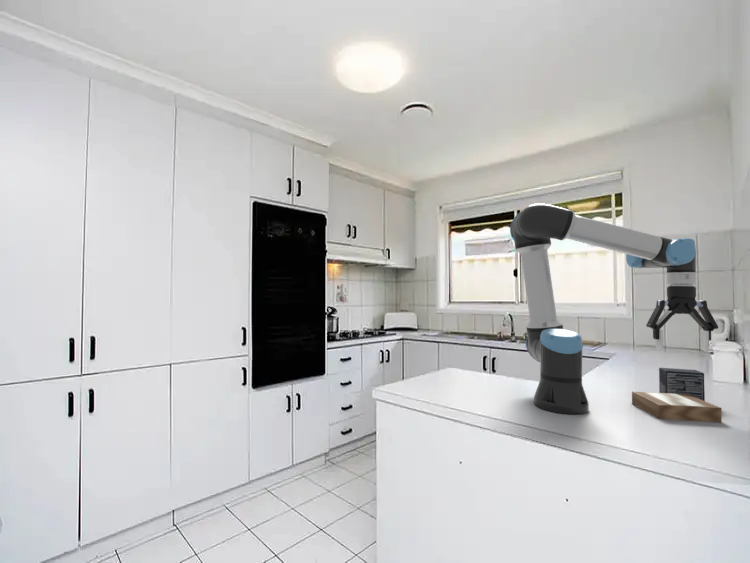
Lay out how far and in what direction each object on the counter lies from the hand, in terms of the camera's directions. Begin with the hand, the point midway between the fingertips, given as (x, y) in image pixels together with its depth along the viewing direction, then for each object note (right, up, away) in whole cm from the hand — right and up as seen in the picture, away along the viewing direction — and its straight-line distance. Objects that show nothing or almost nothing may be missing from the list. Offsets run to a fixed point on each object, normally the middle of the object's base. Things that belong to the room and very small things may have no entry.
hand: (681, 350), depth 125 cm
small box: (0, -17, 0) cm, 17 cm away
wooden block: (-12, -17, -12) cm, 24 cm away
